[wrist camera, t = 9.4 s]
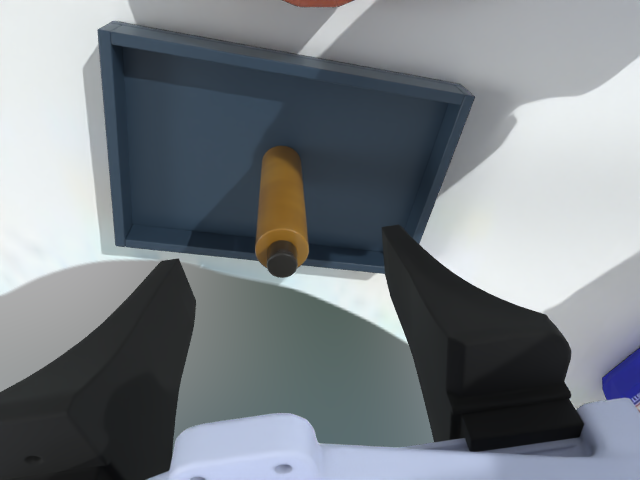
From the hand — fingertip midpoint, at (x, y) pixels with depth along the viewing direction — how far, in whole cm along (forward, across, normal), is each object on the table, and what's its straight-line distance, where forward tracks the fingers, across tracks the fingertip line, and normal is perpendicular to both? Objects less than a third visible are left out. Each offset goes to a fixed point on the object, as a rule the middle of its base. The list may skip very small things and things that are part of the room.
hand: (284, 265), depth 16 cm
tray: (+9, 0, 0) cm, 9 cm away
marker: (+8, 0, 0) cm, 9 cm away
